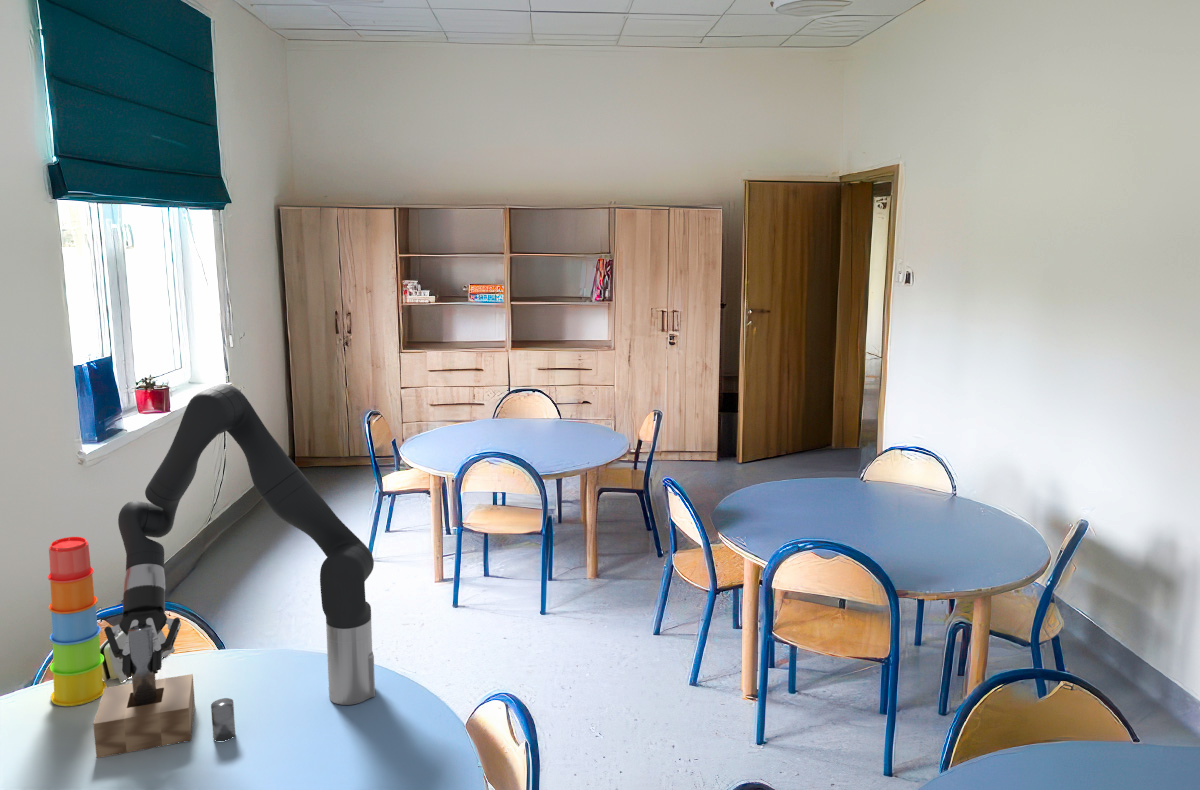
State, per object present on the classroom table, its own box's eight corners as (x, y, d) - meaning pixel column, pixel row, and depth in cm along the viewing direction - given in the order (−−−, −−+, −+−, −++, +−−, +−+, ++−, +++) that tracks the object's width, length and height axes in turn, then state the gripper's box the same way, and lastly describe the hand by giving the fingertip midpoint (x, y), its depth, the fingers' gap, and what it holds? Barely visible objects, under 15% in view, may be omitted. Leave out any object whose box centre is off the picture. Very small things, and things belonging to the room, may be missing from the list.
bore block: (194, 704, 178) (192, 673, 177) (190, 740, 165) (188, 707, 164) (107, 719, 172) (104, 687, 171) (96, 758, 159) (93, 723, 158)
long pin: (157, 693, 170) (152, 623, 168) (155, 703, 167) (150, 631, 164) (135, 696, 169) (129, 626, 166) (132, 706, 165) (126, 634, 162)
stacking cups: (111, 679, 188) (98, 529, 182) (101, 703, 178) (86, 545, 172) (58, 686, 184) (43, 534, 178) (44, 710, 175) (27, 550, 169)
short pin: (235, 728, 170) (233, 696, 168) (235, 739, 166) (233, 706, 165) (213, 732, 168) (211, 700, 167) (212, 743, 165) (210, 710, 163)
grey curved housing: (121, 684, 186) (104, 642, 185) (105, 688, 187) (88, 646, 186) (176, 649, 202) (161, 610, 201) (160, 653, 203) (145, 615, 202)
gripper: (101, 588, 168) (96, 674, 159) (181, 579, 173) (180, 661, 164) (107, 603, 174) (103, 686, 165) (184, 593, 179) (184, 674, 170)
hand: (142, 673), depth 165 cm, fingers closed on long pin, 4 cm apart
